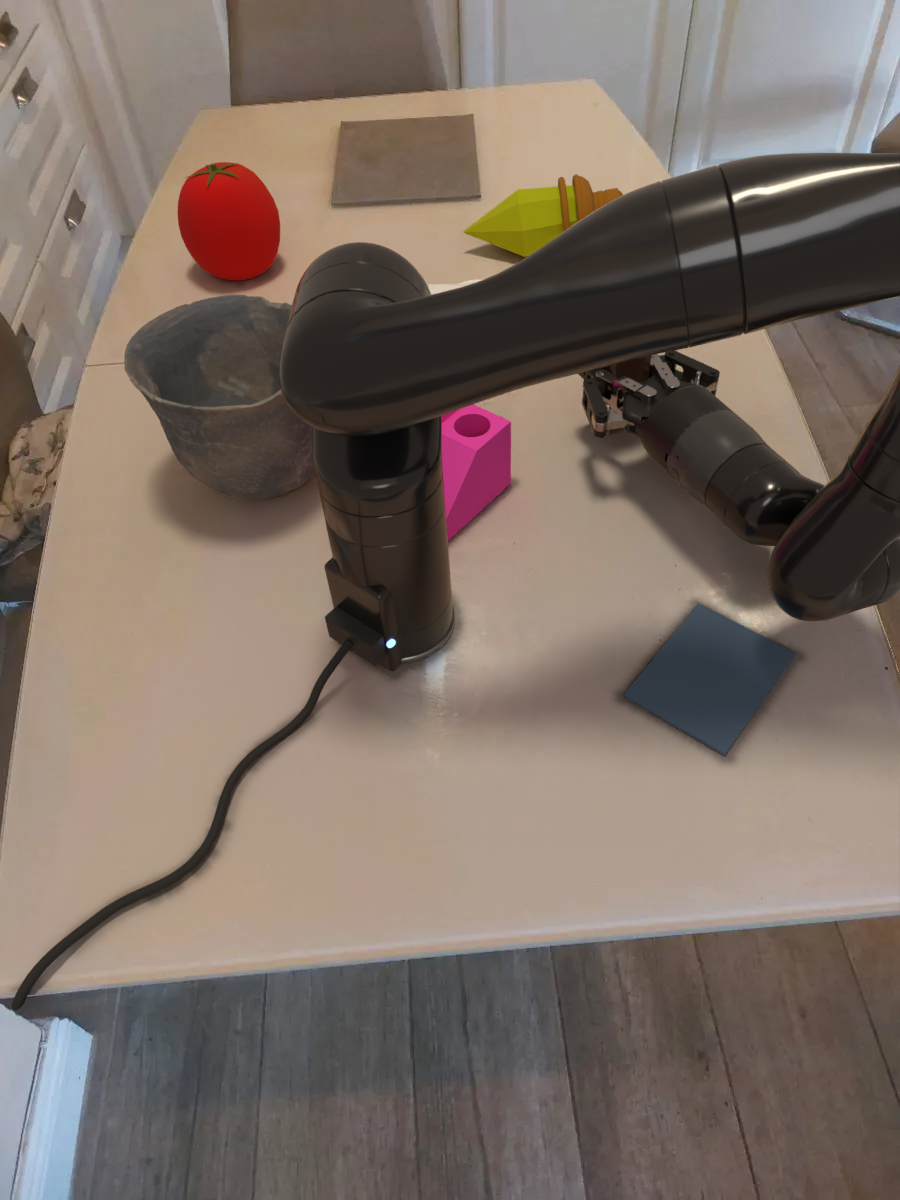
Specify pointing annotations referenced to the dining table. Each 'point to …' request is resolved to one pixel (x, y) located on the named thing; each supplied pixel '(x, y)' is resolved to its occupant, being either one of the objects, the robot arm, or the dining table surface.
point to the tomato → (229, 221)
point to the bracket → (473, 462)
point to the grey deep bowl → (224, 394)
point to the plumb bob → (539, 215)
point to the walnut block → (630, 374)
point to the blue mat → (710, 678)
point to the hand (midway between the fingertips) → (602, 352)
